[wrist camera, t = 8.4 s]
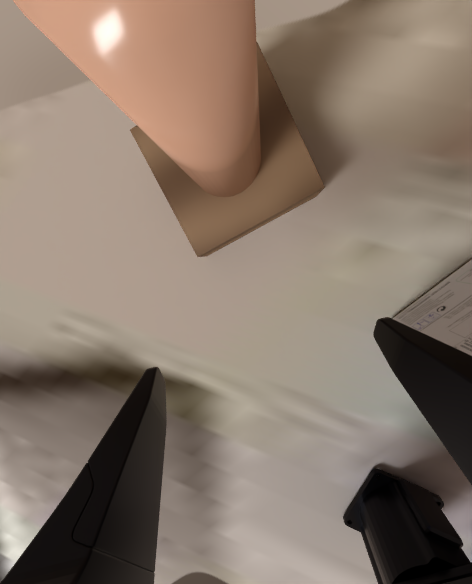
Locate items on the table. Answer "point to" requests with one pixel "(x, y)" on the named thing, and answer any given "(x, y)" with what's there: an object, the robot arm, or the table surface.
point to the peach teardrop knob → (172, 75)
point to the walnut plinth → (259, 195)
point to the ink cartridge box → (445, 311)
